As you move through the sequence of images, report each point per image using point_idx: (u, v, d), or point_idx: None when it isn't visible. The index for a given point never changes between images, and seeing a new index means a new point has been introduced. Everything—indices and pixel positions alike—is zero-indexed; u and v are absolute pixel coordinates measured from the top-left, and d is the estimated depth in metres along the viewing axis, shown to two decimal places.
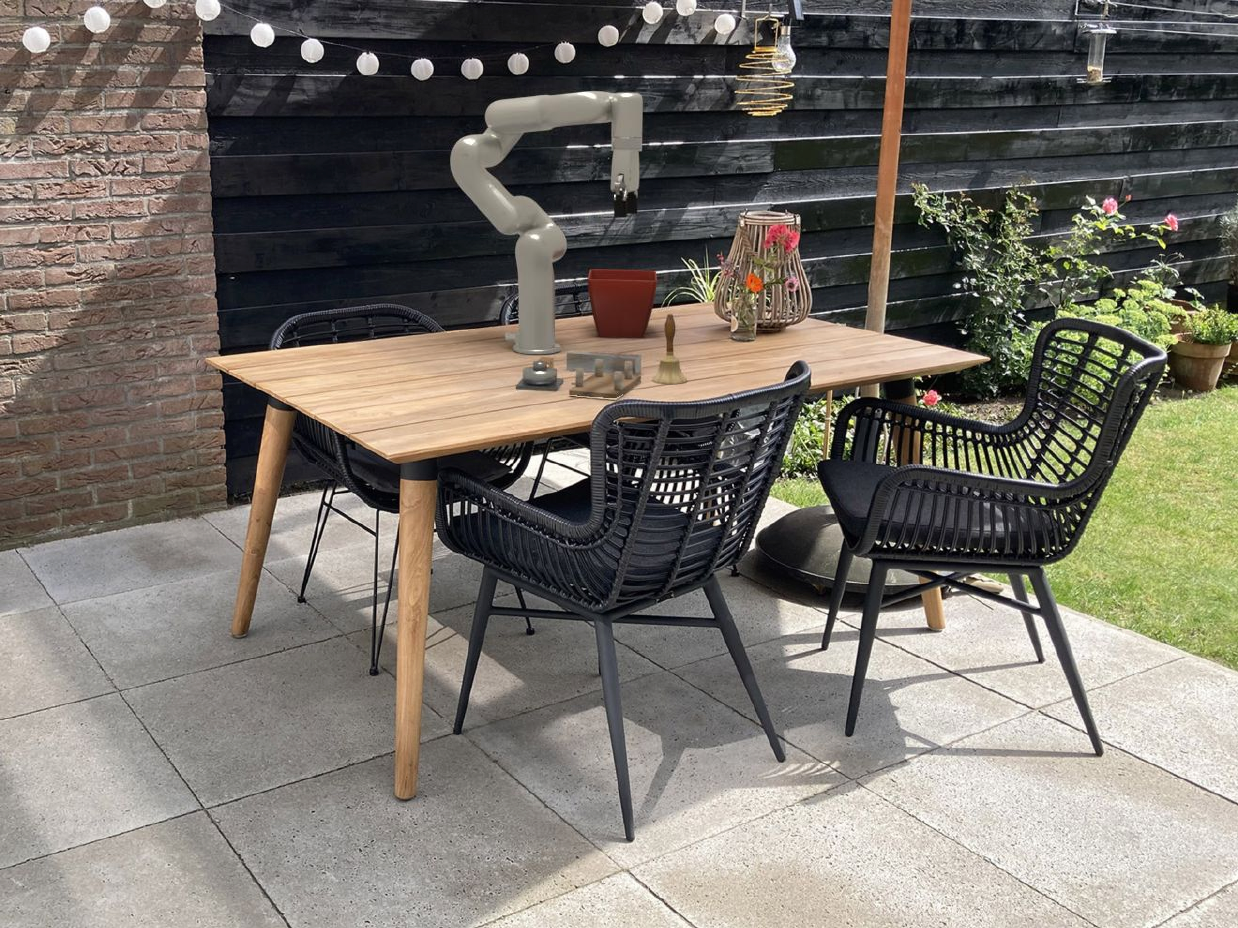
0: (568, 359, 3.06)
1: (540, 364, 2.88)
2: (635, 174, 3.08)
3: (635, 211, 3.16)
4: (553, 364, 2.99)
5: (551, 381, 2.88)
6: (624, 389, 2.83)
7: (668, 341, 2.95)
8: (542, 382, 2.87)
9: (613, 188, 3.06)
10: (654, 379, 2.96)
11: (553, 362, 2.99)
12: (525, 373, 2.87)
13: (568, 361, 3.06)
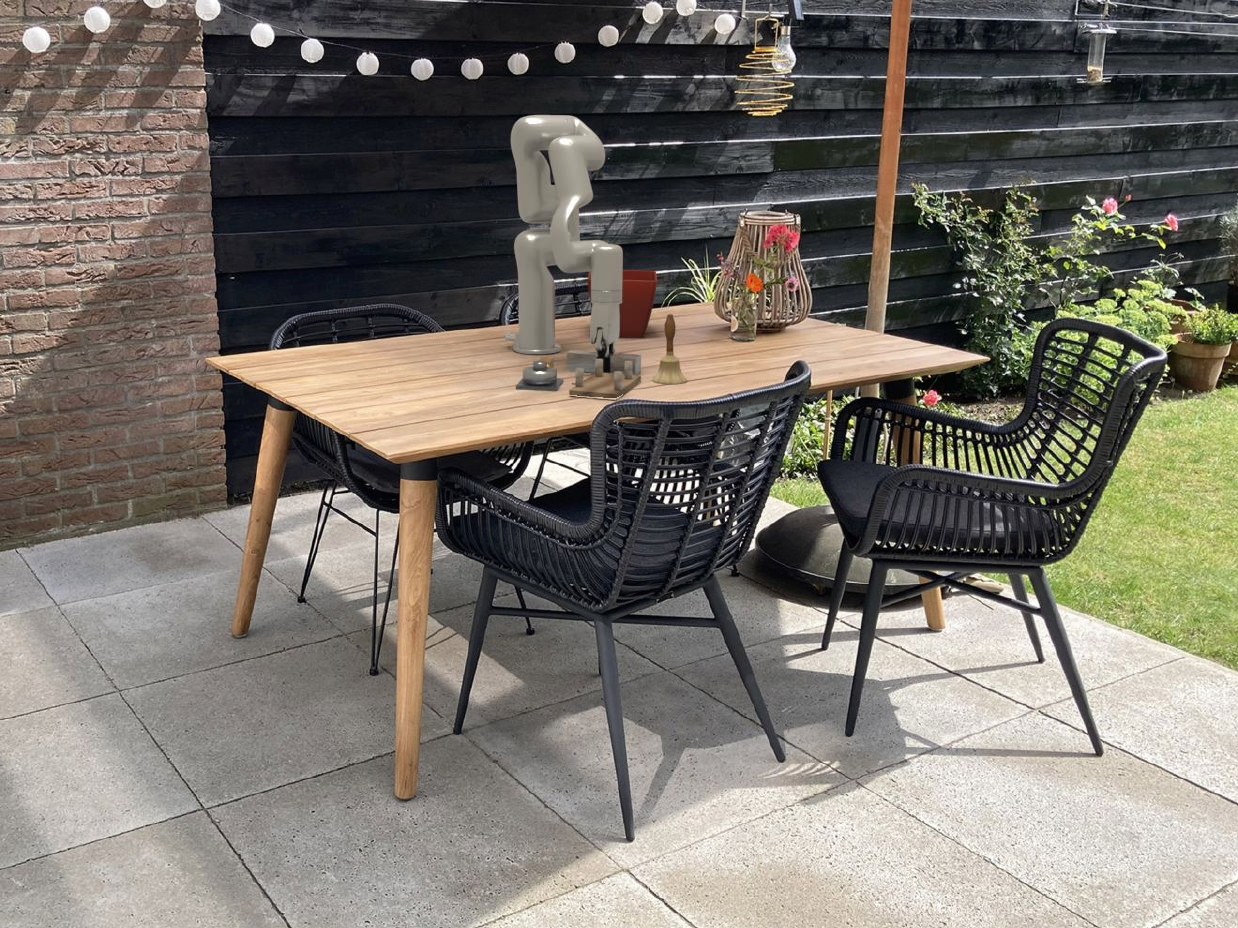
0: (568, 359, 3.06)
1: (540, 364, 2.88)
2: (615, 326, 3.01)
3: None
4: (553, 364, 2.99)
5: (551, 381, 2.88)
6: (624, 389, 2.83)
7: (668, 341, 2.95)
8: (542, 382, 2.87)
9: (592, 341, 2.99)
10: (654, 379, 2.96)
11: (553, 362, 2.99)
12: (525, 373, 2.87)
13: (568, 361, 3.06)
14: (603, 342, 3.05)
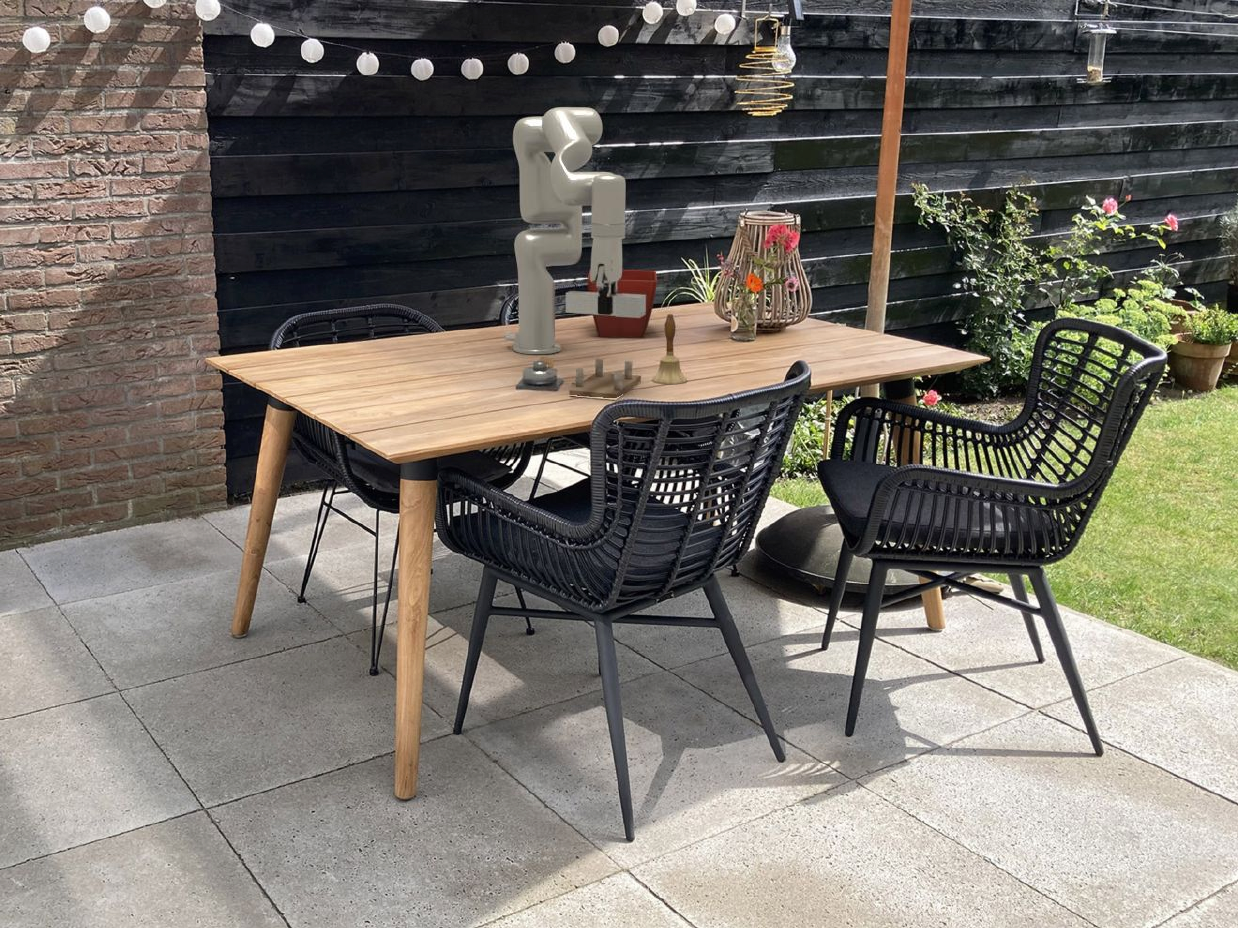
0: (567, 300, 2.84)
1: (540, 364, 2.88)
2: (617, 263, 2.80)
3: None
4: (553, 364, 2.99)
5: (551, 381, 2.88)
6: (624, 389, 2.83)
7: (668, 341, 2.95)
8: (542, 382, 2.87)
9: (593, 279, 2.78)
10: (654, 379, 2.96)
11: (553, 362, 2.99)
12: (525, 373, 2.87)
13: (568, 302, 2.84)
14: (605, 282, 2.84)
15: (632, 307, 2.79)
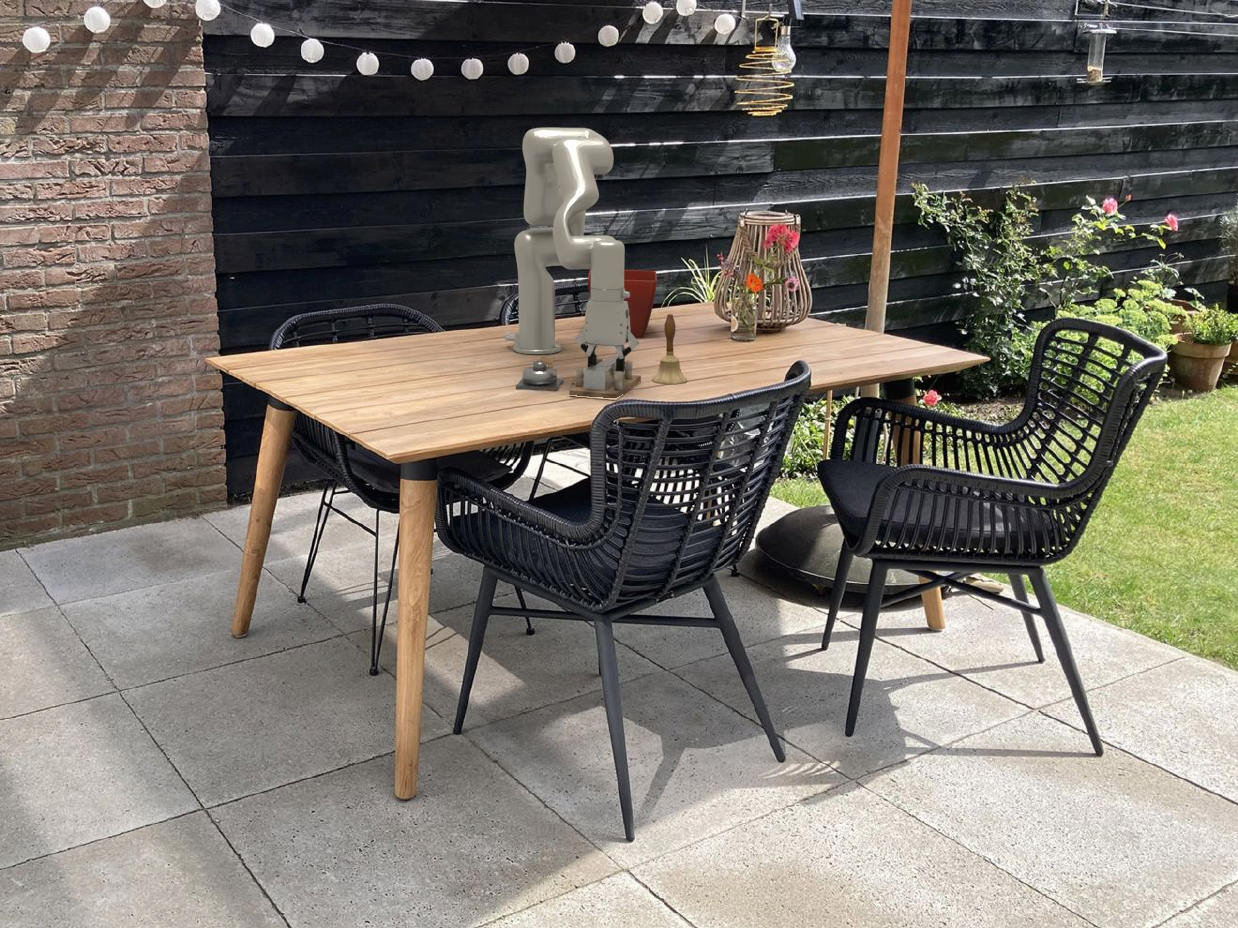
0: None
1: (540, 364, 2.88)
2: (602, 327, 2.82)
3: None
4: (553, 364, 2.99)
5: (551, 381, 2.88)
6: (624, 389, 2.83)
7: (668, 341, 2.95)
8: (542, 382, 2.87)
9: None
10: (654, 379, 2.96)
11: (553, 362, 2.99)
12: (525, 373, 2.87)
13: None
14: None
15: None
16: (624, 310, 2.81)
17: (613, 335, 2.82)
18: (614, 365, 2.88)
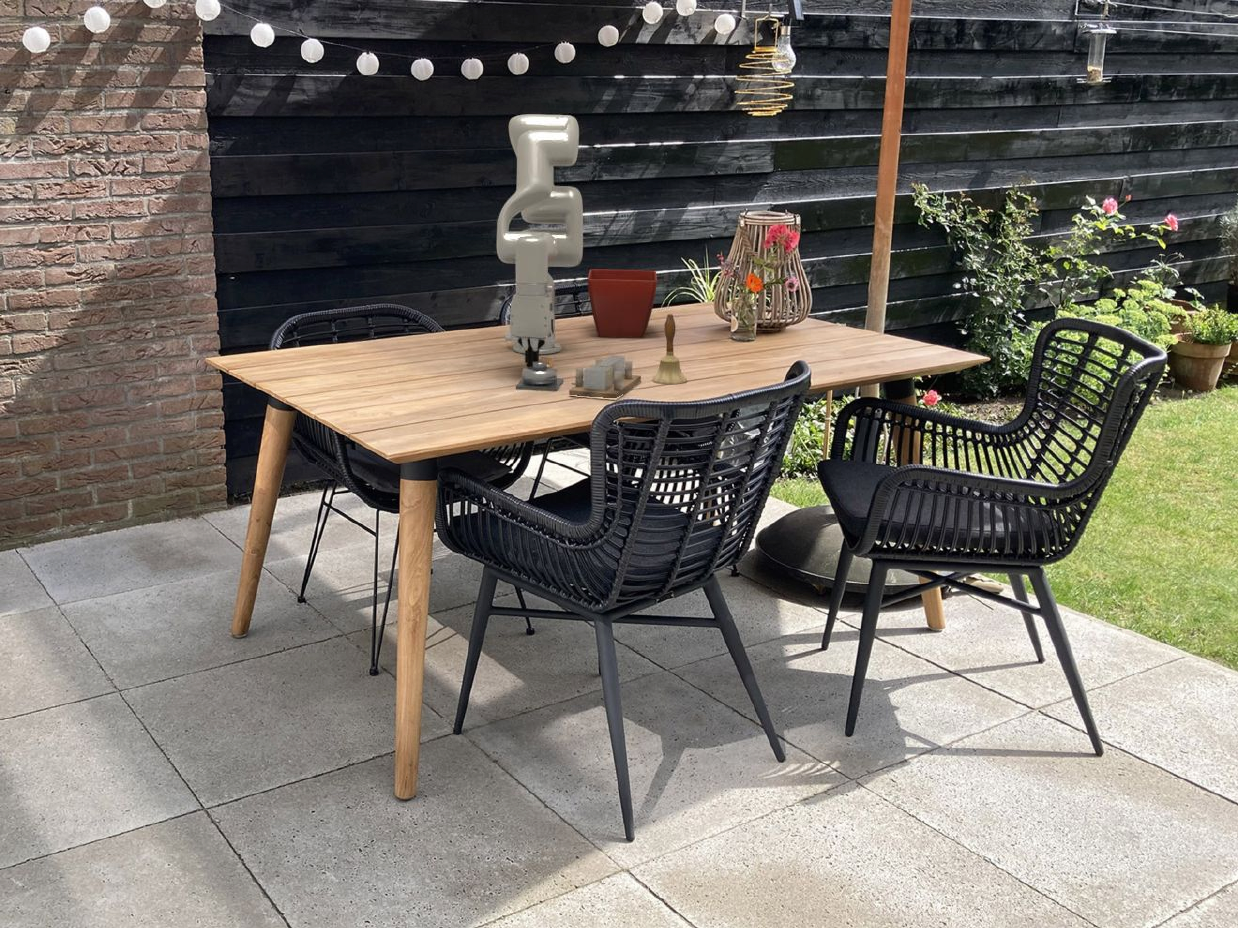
0: None
1: (540, 364, 2.88)
2: (527, 320, 2.92)
3: None
4: (553, 364, 2.99)
5: (551, 381, 2.88)
6: (624, 389, 2.83)
7: (668, 341, 2.95)
8: (542, 382, 2.87)
9: None
10: (654, 379, 2.96)
11: (553, 362, 2.99)
12: (525, 373, 2.87)
13: None
14: None
15: None
16: (548, 304, 2.91)
17: (538, 328, 2.92)
18: (614, 365, 2.88)
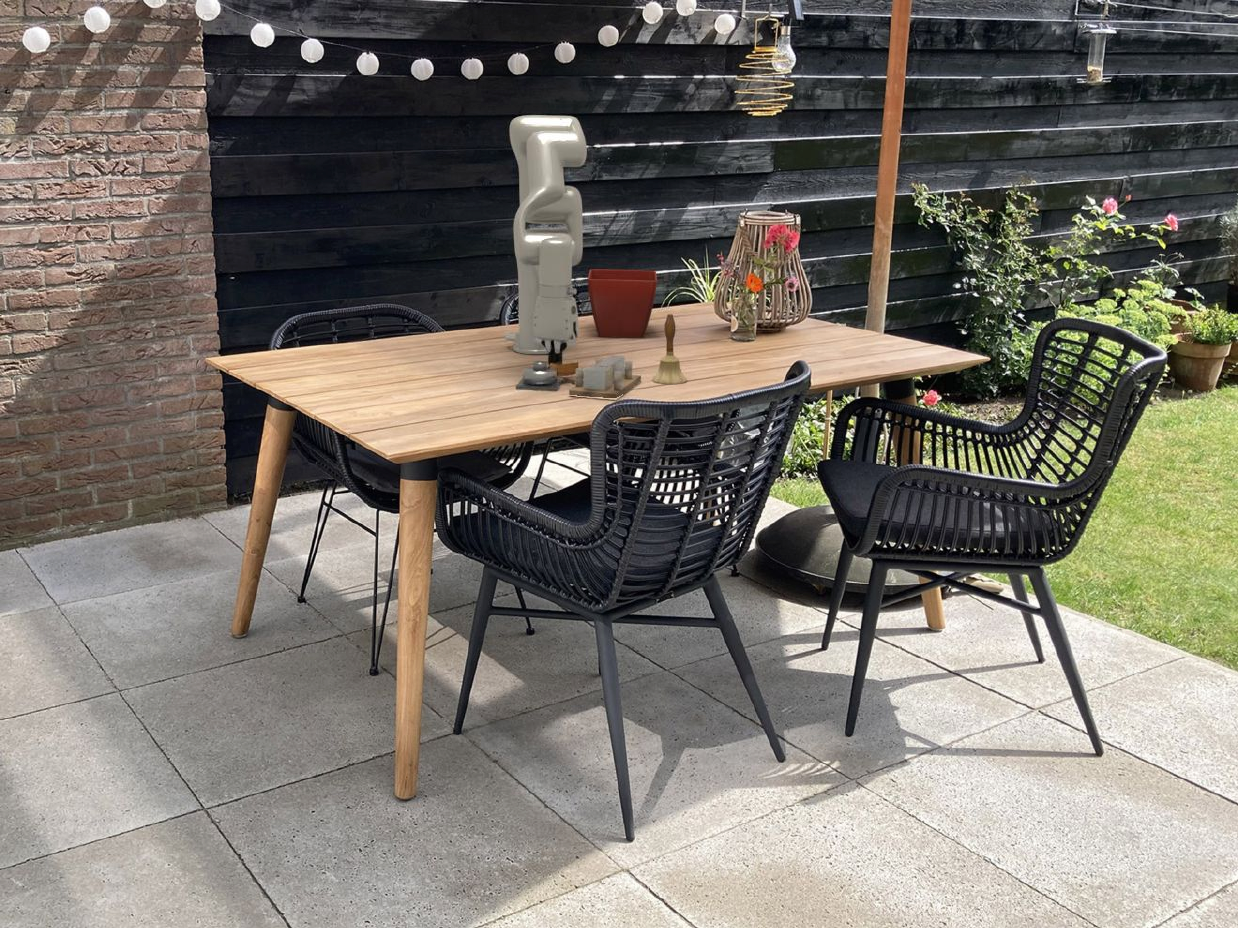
0: None
1: (535, 364, 2.88)
2: (549, 322, 2.91)
3: None
4: None
5: (539, 382, 2.86)
6: (624, 389, 2.83)
7: (668, 341, 2.95)
8: (529, 381, 2.87)
9: None
10: (654, 379, 2.96)
11: (577, 367, 2.94)
12: None
13: None
14: None
15: None
16: (570, 306, 2.89)
17: (559, 330, 2.91)
18: (614, 365, 2.88)
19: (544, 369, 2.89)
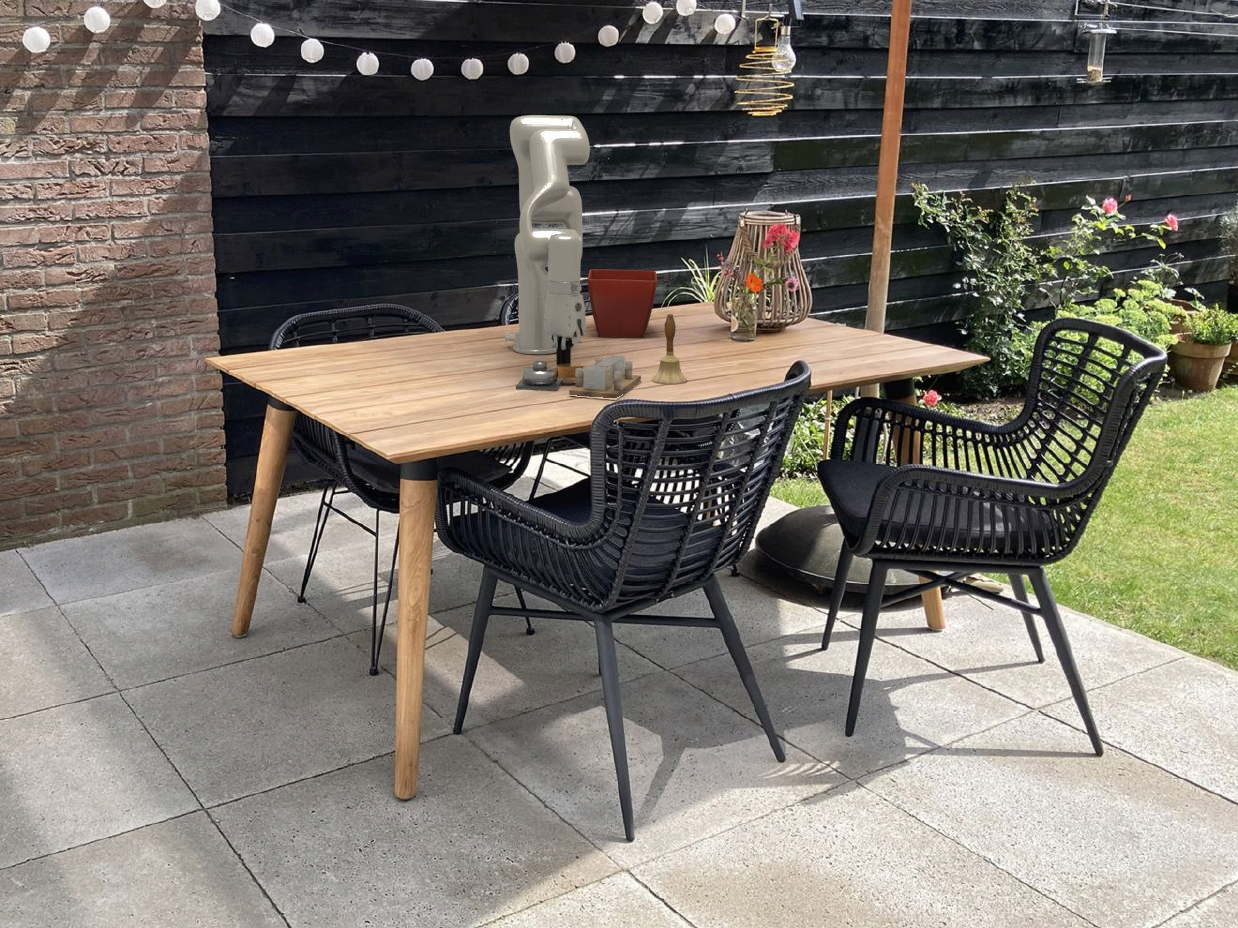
0: None
1: (534, 363, 2.88)
2: (555, 318, 2.91)
3: None
4: None
5: (531, 382, 2.87)
6: (624, 389, 2.83)
7: (668, 341, 2.95)
8: (524, 380, 2.88)
9: None
10: (654, 379, 2.96)
11: None
12: None
13: None
14: None
15: None
16: (573, 303, 2.87)
17: (563, 326, 2.90)
18: (614, 365, 2.88)
19: (541, 369, 2.88)
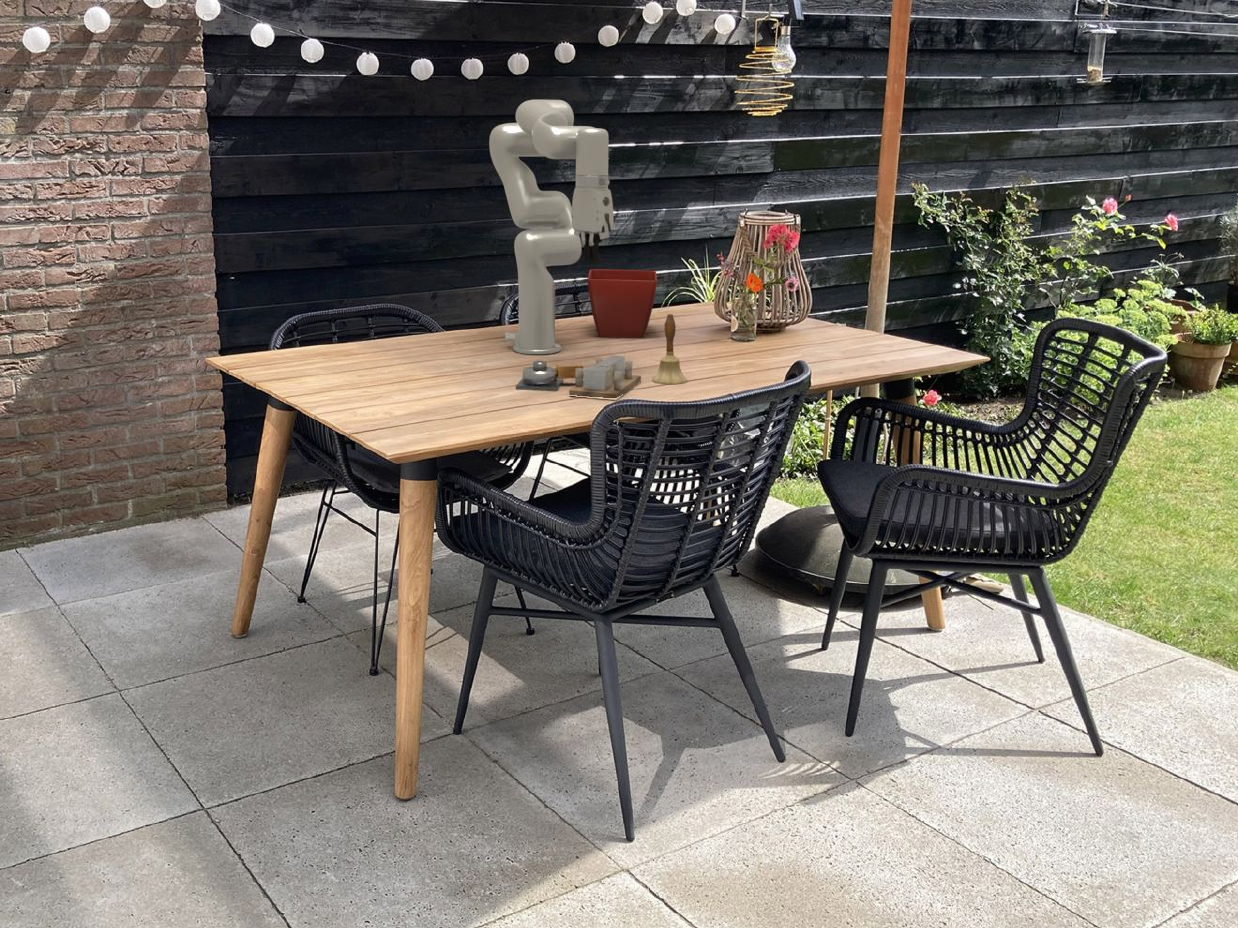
0: None
1: (534, 363, 2.88)
2: (583, 214, 2.91)
3: None
4: None
5: (531, 382, 2.87)
6: (624, 389, 2.83)
7: (668, 341, 2.95)
8: (524, 380, 2.88)
9: None
10: (654, 379, 2.96)
11: None
12: None
13: None
14: None
15: None
16: (601, 197, 2.88)
17: (591, 221, 2.90)
18: (614, 365, 2.88)
19: (541, 369, 2.88)
